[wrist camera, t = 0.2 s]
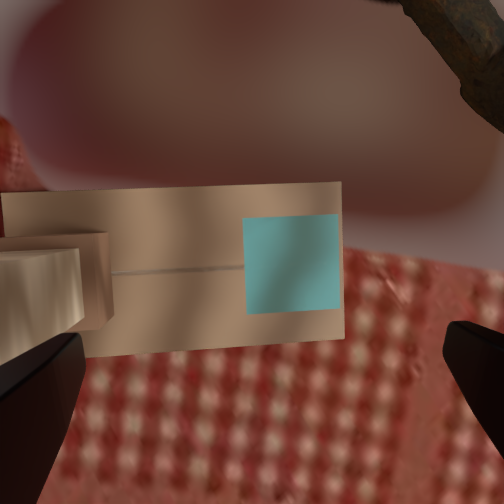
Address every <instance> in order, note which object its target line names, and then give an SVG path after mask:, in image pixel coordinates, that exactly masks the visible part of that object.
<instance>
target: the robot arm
mask: <svg viewBox="0 0 504 504" xmlns="http://www.w3.org/2000/svg"><path fill="white" fill-rule="evenodd" d="M443 357H444V360H445V362H446V364H447V366H448V367H449V369H450V371H451V373H452V375H453V377H454V379H455V381H456V382H457V384H458V386H459V388H460V390H461V392H462V394H463V396H464V397H465V399H466V401H467V403H468V405H469V407H470V408H471V410H472V412H473V414H474V415H475V417H476V418H477V420H478V421H479V423H480V424H481V426H482V427H483V429H484V431H485V432H486V434H487V435H488V437H489V438H490V440H491V441H492V443H493V444H494V446H495V447H496V449H497V450H498V452H499V453H500V455H501V456H502V458H503V459H504V334H502V333H500V332H497V331H494V330H491V329H489V328H486V327H483V326H480V325H478V324H475V323H472V322H470V321H452V322H450V323H449V325H448V327H447V331H446V336H445V340H444V345H443ZM85 371H86V360H85V353H84V347H83V341H82V337H81V335H80V334H79V333H77V332H68V333H60V334H58V335H56V336H54V337H52V338H50V339H48V340H47V341H45V342H43V343H41V344H39V345H37V346H35V347H34V348H32V349H30V350H28V351H26V352H24V353H22V354H20V355H19V356H17V357H15V358H13V359H11V360H9V361H7V362H6V363H4V364H2V365H0V504H36V503H37V501H38V498H39V496H40V494H41V491H42V489H43V487H44V485H45V482H46V480H47V478H48V475H49V473H50V471H51V468H52V466H53V464H54V461H55V459H56V457H57V454H58V452H59V450H60V447H61V445H62V443H63V440H64V438H65V435H66V433H67V430H68V427H69V424H70V421H71V418H72V414H73V411H74V408H75V404H76V401H77V398H78V394H79V391H80V388H81V385H82V381H83V378H84V375H85Z"/></svg>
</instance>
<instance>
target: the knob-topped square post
mask: <svg viewBox="0 0 504 504" xmlns="http://www.w3.org/2000/svg"><path fill="white" fill-rule="evenodd" d="M113 316H114V302H113V289H112V276H111V262H110V249H109V236H108V232H102V233H79V234H57V235H34V236H15V237H2V238H0V365H2V364H4V363H6V362H7V361H9V360H11V359H13V358H15V357H17V356H19V355H20V354H22V353H24V352H26V351H28V350H30V349H32V348H34V347H35V346H37V345H39V344H41V343H43V342H45V341H47V340H48V339H50V338H52V337H54V336H56V335H58V334H60V333H64V332H69V331H84V330H99V329H100V328H101V327H103V326H104V325H105V324H106V323H107V322H108V321H109V320H110V319H111V318H112V317H113Z"/></svg>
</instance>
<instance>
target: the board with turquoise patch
mask: <svg viewBox="0 0 504 504" xmlns="http://www.w3.org/2000/svg"><path fill="white" fill-rule="evenodd" d="M1 201H2V211H3V222H4V232H5V237H15V236H34V235H57V234H79V233H102V232H108V236H109V249H110V262H111V276H112V289H113V302H114V316H113V317H112V318H111V319H110V320H109V321H108V322H107V323H106V324H105V325H104V326H103V327H101V328H100V329H99V330H84V331H69V332H77V333H79V334H80V335H81V337H82V341H83V347H84V353H85V358H92V357H105V356H118V355H132V354H145V353H159V352H172V351H186V350H199V349H213V348H226V347H240V346H253V345H267V344H280V343H294V342H307V341H320V340H334V339H345V332H344V285H343V241H342V240H343V238H342V191H341V182H315V183H287V184H286V183H285V184H257V185H226V186H196V187H166V188H139V189H138V188H136V189H108V190H76V191H46V192H16V193H1ZM64 333H68V332H64Z"/></svg>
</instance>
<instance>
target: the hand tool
mask: <svg viewBox="0 0 504 504" xmlns="http://www.w3.org/2000/svg"><path fill="white" fill-rule="evenodd" d="M398 1H399V2H400V4H401V5H402V6H403V11H404V13H405V15H407V16H409V17H411V18H412V19H413V21H414V22H415V23H416V25H417V26H418V27H419V29H420V31H421V32H422V34H423V35H424V36H426V38H428V40H429V41H430V42H431V44H432V45H433V46H434V47H435V49H436V50H437V51H438V53H439V54H440V55H441V57H442V58H443V59H444V61H445V62H446V63H447V64H448V66H449V67H450V68H451V70H452V71H453V72H454V73H455V74H456V76H457V77H458V78H459V79H460V83H461V88H460V94H461V96H462V98H463V99H464V101H465V102H466V103H467V104H468V105H469V106H470V107H471V108H472V109H473V110H474V111H475V112H476V113H477V114H479V115H480V116H481V117H483V118H484V119H485V120H486V121H487V122H489V123H490V124H491V125H493V126H494V127H495V128H496V129H498V130H499V131H501V132H502V133H503V134H504V21H503V20H502V19H501V18H500V17H499V15H498V14H497V11H496V9H495V8H494V7H493V5H492V4H491V2H490V1H489V0H398Z"/></svg>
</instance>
